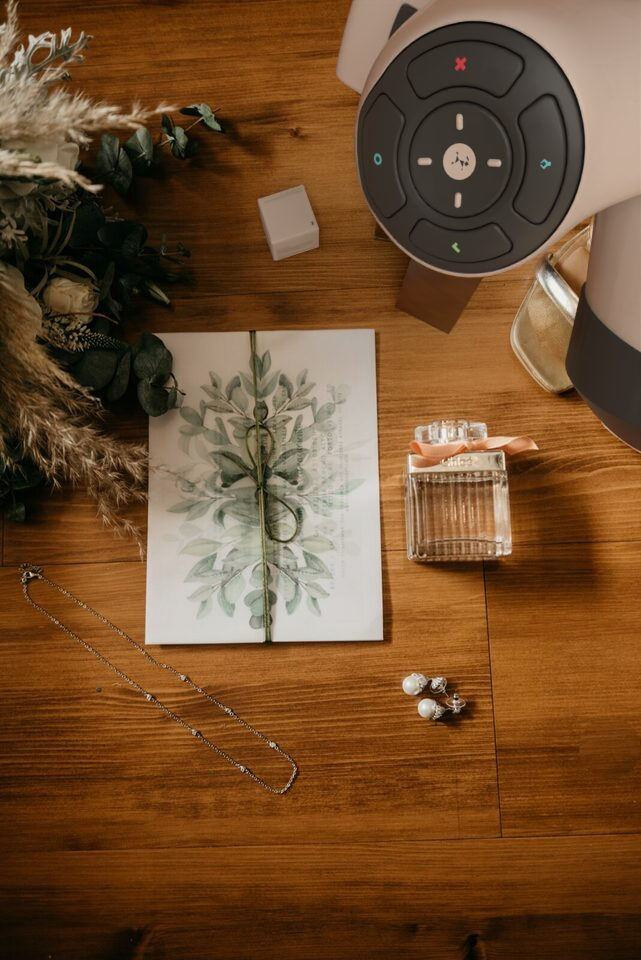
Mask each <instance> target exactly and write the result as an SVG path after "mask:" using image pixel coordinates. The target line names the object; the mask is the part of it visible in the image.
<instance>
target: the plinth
mask: <svg viewBox="0 0 641 960" xmlns="http://www.w3.org/2000/svg"><path fill="white" fill-rule="evenodd" d="M484 278H485V277H458V276H453V275H447V274H444V273H441V272H438V271H435V270H433V269H430V268H428V267H426V266H424V265H422V264H420V263H419V262H417V261H415V260H414V259H412V258H411V257H410V259H409V262H408V265H407V268H406V272H405V275H404V278H403V281H402V284H401V286H400V290H399V293H398V297H397V300H396V303H395V308H396V309H397V310H399V311H400V312H402V313H405V314H407V315H409V316H412V317H413V318H414V319H417V320H419V321H421V322H423V323H425V324H427V325H429V326H431V327H433V328H435V329H437V330H439V331H441V332H443V333H445V334H447V335H449V334H450V333H451V332H452V330H453V329H454V327H455V326H456V324H457V322H458V320H459V319H460V317H461V315H462V314H463V313H464V311H465V309H466V307H467V306H468V304H469V302H470V301H471V299H472V297H473V296H474V294H476V293H475V292H476V291H477V290H478V288H479V286H480V284H481V283H482V281H483V280H484Z"/></svg>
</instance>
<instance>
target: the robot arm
mask: <svg viewBox="0 0 641 960" xmlns="http://www.w3.org/2000/svg"><path fill="white" fill-rule="evenodd" d="M339 46H340V47H339V51H338V56H337V61H336V66H335V76H336V78H337V79H338V80H339V81H340V82H341V83H342V84H344V85H345V86H347V87H348V88H350V89H351V90H353V91H354V92H355V93H356V94H357V95H359V96H360V97H359V101H358V105H357V108H356V114H355V119H354V125H353V127H354V128H353V154H354V155H353V157H354V163H355V170H356V171H355V172H356V175H357V179H358V183H359V186H360V190H361V193H362V196H363V198H364V200H365V202H366V204H367V206H368V209H369V211H370V213H371V214H372V216H373V217H374V219H375V221H376V223H377V222H378V224H379V225H380V227H381V228H382V229H383V230H384V232H385V233H386V234H387V235H388V237H389V238H390V239H391V240H392V241H393V242H394V244H395V246H396V247H397V248H398V249H400V250H401V252H403V253H404V254H406V256H408V257H410V259H411V258H412V259H414V260H415V261H417V262H419V263H420V264H422V265H424V266H426V267H428V268H430V269H433V270H435V271H438V272H441V273H444V274H447V275H453V276H458V277H484V278H485V277H492V276H495V275H500V274H503V273H506V272H510V271H512V270H514V269H515V270H516V269H518V268H520V267H522V266H524V265H526V264H528V263H530V262H532V261H533V260H535V259H537V258H539V257H540V256H541V255H542V254H544V253H545V252H547V251H548V250H549V249H551V248H552V247H554V245H556V244H557V243H558V242H559V241H561V240H562V239H563V238H564V237H565V236H566V235H567V234H568V233H569V232H571V231H572V230H573V229H574V228H575V227H577V226H578V225H580V224H581V223H583V222H584V221H585V220H587V219H589V218H591V217H592V216H593V222H592V223H593V224H592V230H591V232H592V233H591V239H590V247H589V248H590V249H589V254H588V262H587V271H586V278H585V281H584V282H583V284H582V285H581V288H580V293H579V297H578V302H577V306H576V310H575V313H574V319H573V323H572V328H571V333H570V337H569V342H568V345H567V351H566V354H565V360H564V368H565V372H566V375H567V378H568V379H569V381H570V383H571V384H572V385H573V388H574V389H575V390H576V392H577V393H578V395H579V396H580V397H581V399H582V400H583V402H584V403H585V405H586V406H587V407H588V409H589V410H590V411H591V412H592V413H593V415H595V417H597V419H598V420H599V421H600V422H601V423H602V424H603V425H604V426H605V427H606V428H607V429H608V430H609V431H610V432H612V433H613V434H614V435H615V436H616V437H618V438H619V439H620V440H621V441H623V442H624V443H626V444H627V445H629V446H630V447H632V448H634V449H635V450H637V451H640V452H641V0H352V2H351V5H350V8H349V11H348V15H347V19H346V22H345V25H344V30H343V34H342V37H341V41H340V45H339ZM393 242H392V243H393Z"/></svg>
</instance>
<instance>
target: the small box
mask: <svg viewBox="0 0 641 960" xmlns="http://www.w3.org/2000/svg"><path fill="white" fill-rule="evenodd" d="M257 206H258V211H259V217H260V218H259V219H260V222H261V225H262V229H263V231H264V235H265V239H266V242H267V244H268V247H269V251H270V254H271V256H272V261H274V262H276V261H280V260H284V259H286V258H287V259H288V258H290V257H292V256H297V255H299V254H303V253H305V252H308V251H312V250H314V249H317V248H320V227H319V224H318V220H317V219H316V216H315V213H314V210H313V207H312V205H311V202H310V199H309V197H308V193H307V191H306V188H305V185H304V184H301V185H297V186H294V187H291V188H288V189H284V190H281V191H278V192H276V193H272V194H270V195H267V196H266V195H265V196H263V197H260V198H257Z"/></svg>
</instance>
